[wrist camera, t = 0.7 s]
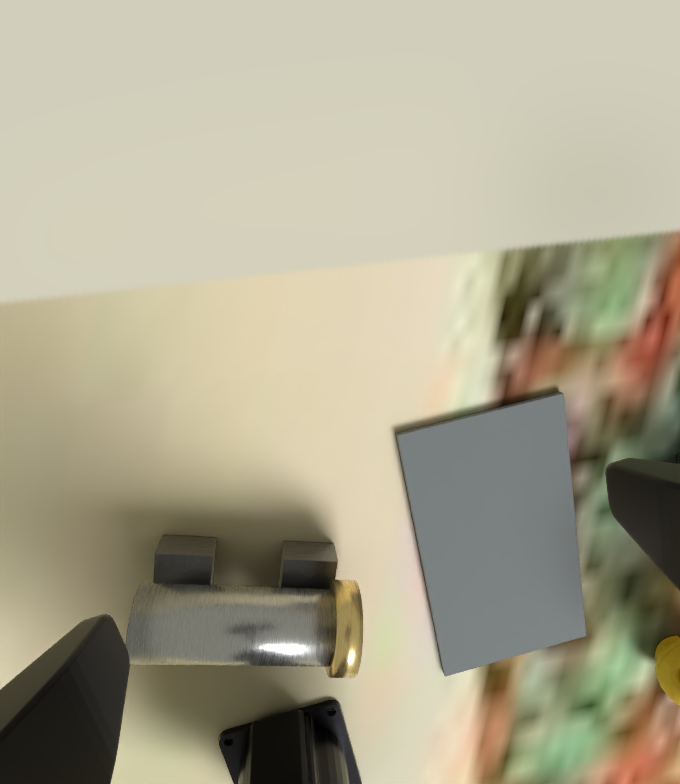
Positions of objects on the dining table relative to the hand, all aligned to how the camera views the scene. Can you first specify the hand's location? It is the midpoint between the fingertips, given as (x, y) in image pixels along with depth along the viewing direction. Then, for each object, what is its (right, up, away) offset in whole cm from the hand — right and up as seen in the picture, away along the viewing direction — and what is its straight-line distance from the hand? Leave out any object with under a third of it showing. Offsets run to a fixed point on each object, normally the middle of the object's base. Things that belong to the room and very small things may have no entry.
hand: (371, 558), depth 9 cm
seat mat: (+7, -5, +16) cm, 18 cm away
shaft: (-5, -6, +15) cm, 17 cm away
